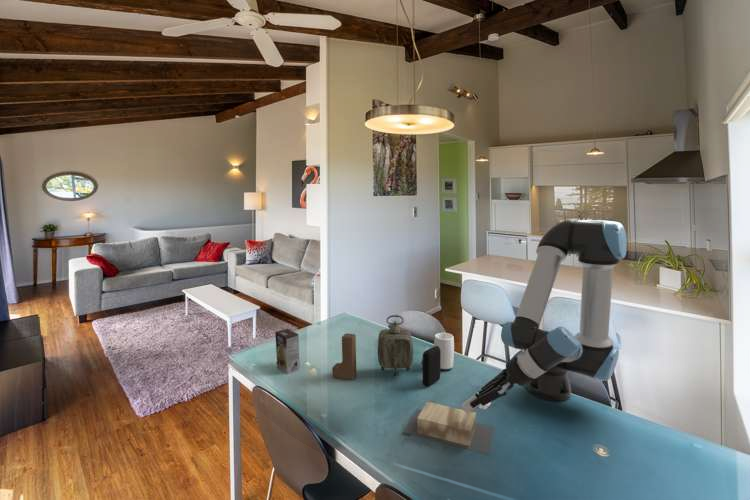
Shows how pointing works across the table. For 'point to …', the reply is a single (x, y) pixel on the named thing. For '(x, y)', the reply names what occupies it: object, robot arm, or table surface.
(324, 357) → the table surface
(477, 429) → the mat
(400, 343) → the tabletop clock
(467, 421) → the slab
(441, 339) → the cup
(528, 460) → the table surface
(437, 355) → the carrying case or bag
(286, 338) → the coffee box
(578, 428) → the table surface
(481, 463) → the table surface
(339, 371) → the wooden block
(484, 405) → the white oblong lump
